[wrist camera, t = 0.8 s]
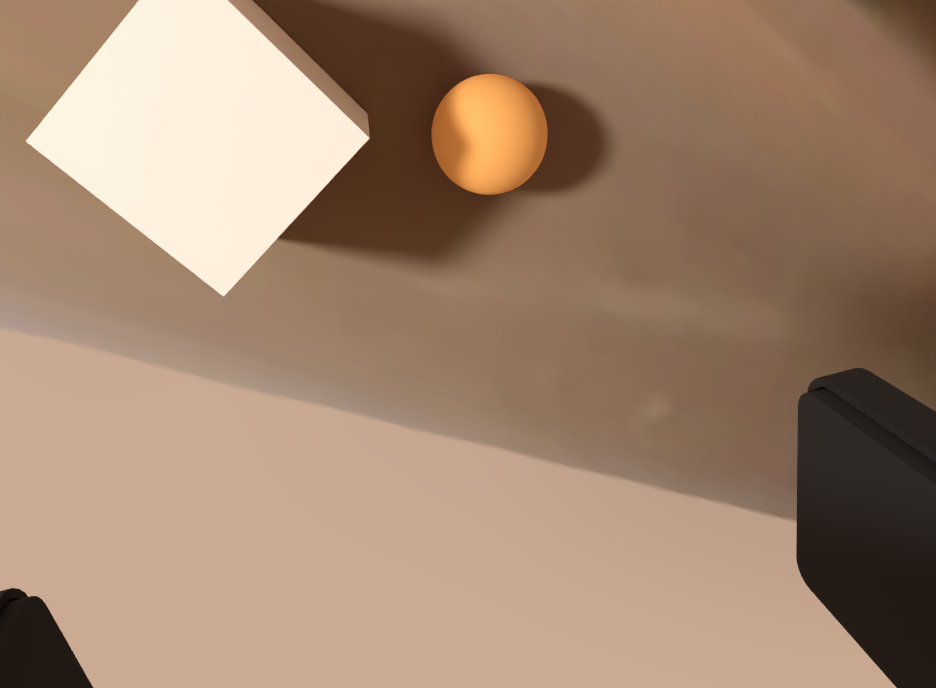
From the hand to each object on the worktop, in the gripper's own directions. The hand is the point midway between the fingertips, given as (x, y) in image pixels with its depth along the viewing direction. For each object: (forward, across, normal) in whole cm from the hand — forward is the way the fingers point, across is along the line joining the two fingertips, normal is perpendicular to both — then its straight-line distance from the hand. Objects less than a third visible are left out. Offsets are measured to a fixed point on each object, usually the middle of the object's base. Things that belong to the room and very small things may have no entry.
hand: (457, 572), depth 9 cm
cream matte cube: (+27, +4, -4) cm, 28 cm away
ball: (+24, -6, -1) cm, 25 cm away
